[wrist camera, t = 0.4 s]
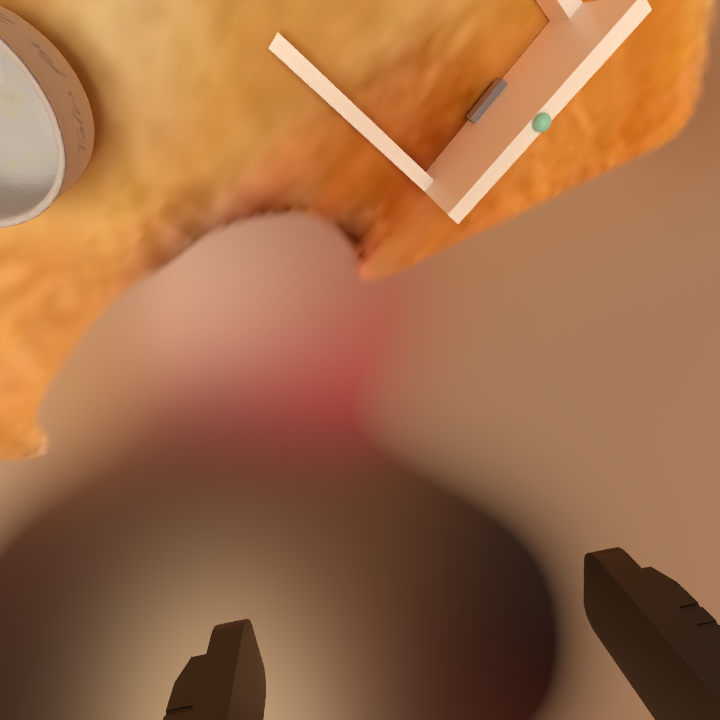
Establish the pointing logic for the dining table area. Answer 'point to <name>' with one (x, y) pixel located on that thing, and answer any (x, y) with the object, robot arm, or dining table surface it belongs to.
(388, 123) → the dining table surface
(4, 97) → the teacup
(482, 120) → the charging dock
